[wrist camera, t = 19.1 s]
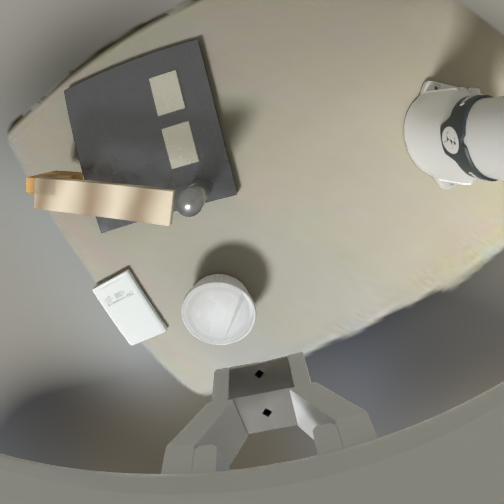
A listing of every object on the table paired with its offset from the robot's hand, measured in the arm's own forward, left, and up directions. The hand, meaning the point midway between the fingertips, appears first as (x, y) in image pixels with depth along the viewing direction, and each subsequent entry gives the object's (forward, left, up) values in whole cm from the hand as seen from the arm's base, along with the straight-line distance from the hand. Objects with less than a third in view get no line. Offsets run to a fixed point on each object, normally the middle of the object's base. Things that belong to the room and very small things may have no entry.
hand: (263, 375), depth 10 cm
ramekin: (+8, +16, -39) cm, 42 cm away
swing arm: (+17, -6, -35) cm, 39 cm away
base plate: (+12, -12, -38) cm, 42 cm away
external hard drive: (+23, +14, -39) cm, 48 cm away
